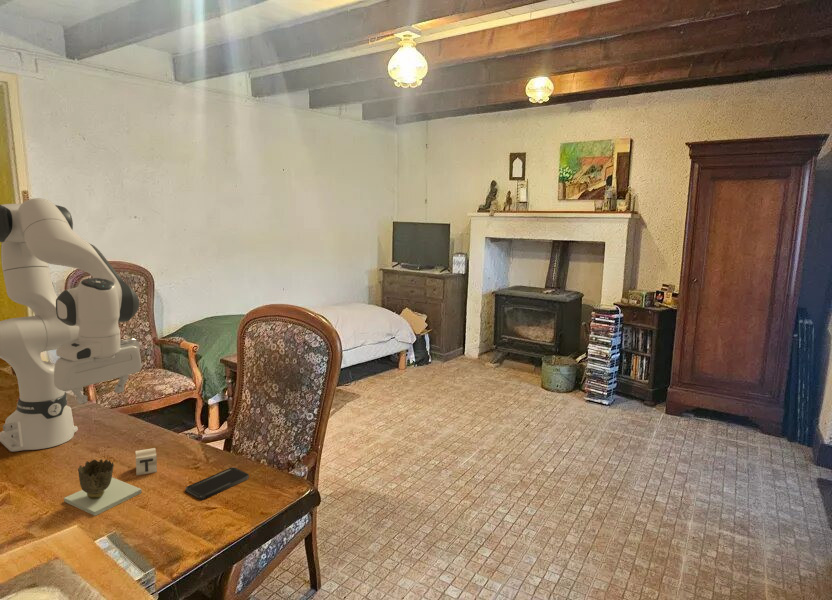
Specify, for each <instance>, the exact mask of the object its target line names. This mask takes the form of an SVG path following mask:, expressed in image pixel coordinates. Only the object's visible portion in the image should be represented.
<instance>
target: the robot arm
mask: <svg viewBox="0 0 832 600" xmlns="http://www.w3.org/2000/svg"><path fill="white" fill-rule="evenodd" d="M73 229H74V221H73V217H72V215H71V212H70V211H69V210H68V209H67V208H66V207H65V206H62V205H57V204H54V203H53V202H52V201H50V200H49V199H45V198H40V197H38V198H36V197H35V198H30V199H28V200H25V201H23V202H22V203H4V204H0V243H1V245H0V247H1V249H0V258H1V260H0V261H1V268H2V273H3V274H2V275H3V280H4V286H5V289H6V295H7V297H8V298H9V299H10V300H11V301H12V302H14V303H17V304H19V305H22V306H26V307H28V308H29V309H30V310H31V311H32V312H33V314H34V315H31V316H22V317H21V316H20V317H14V318H13V317H12V318H8V319H3V320H0V359H1V360H3V361H5V362H6V363H7V364H8V365H9V366H10V367H12V369H13V371H14V372H15V373H14V374H15V375H16V378H17V379H16V380H17V384H18V385H17V386H18V392H19V397H16V402H17V403H16V409H15V411H13V412H12V413H11V414H10V415H9V416H7V417H6V418H5V423H4V424H3V425H2V431H0V443H1V444H2V445H3V446H4V447H5V448H6V449H7V450H8V451H9V452H19V451H21V452H22V451H31V450H32V451H33V450H35V451H36V450H41V449H42V450H43V449H48V448H52V447H56V446H59V445H62V444H65V443H67V442H68V441H70V440H71V439H73V438H74V436H75V433H76V432H77V431H78V430H79V428H78V426H77V425H74V418H73V411H72V408H71V406H69V405H68V396H67V392H69V391H71V392H72V393H73V395H75V396H76V402H77V405H78V404H79V405H83V404H86V403H88V395H85V394H83V393H82V392H83V388H85V387H88V386H91V385H95V384H99V383H103V382H106V381H110V380H114V379H119V380H118V383H117V384H115V385H114V392H115V393H117V394H120V393H123V392H125V385H127V382H128V380H129V375H133V374H136V373H139V372H140V371H141V369H142V366H143V365H142V359H141V358H142V357H141V353H140V342H139V341H138V339H135V338H134V337H131V338H128V339H121V329H120V326H119V323H126V322H127V323H128V322H129V321H131V319H133V317H134V316H135V315H136V314H137V313H138V311H139V308H140V300H139V297H138V294H137V293H136V291H135V290H134V289H133V288H132V287H131V286H130V285H128V284H127V282H125V281H124V279H122V277H121V276H120V275H119V274H118V272H117V271H116V270H115V269H114V267H113V266H112V265H111V263H110V262H109V261H108V259H107V258H106V256H104V255H103V253H102V252H101V251H100V249H98V248H97V247H96V246H95V245H94V244H92V243H89V242H87V241H86V240H85V239H83V238H81V236H79V235H78V234H77V233H76V232H75V231H74V230H73ZM49 264H50V265H53V266H61V267H62V266H63V267H68V268H74V269H77V270H81V271H83V272H85V273H86V272H87V273H88V274H89V275H91V277H90V278H85V279H83V280H80V281H79V283H78V286H76V287H72V288H69V289H65V290H63V291H61V293H60V294H59V295H57V293H56V291H55V288H54V285H53V281H52V277H51V272H50V266H49ZM55 350H56V351H55ZM51 351H55V353H56V356H57V357H59V358H58V359H57V360H56V361H55V363H53V362H50V361H46V360H43V359H42V356H41V353H45V352H51Z"/></svg>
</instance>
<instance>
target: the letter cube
mask: <svg viewBox="0 0 832 600" xmlns="http://www.w3.org/2000/svg"><path fill="white" fill-rule="evenodd" d="M157 458H158V457H157V450H156V447H152V448H147V449H140V450H135V471H136V474H135V475H136V476H141V475H147V474H153V473H157V472H158V461H157Z"/></svg>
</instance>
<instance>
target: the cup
mask: <svg viewBox="0 0 832 600" xmlns="http://www.w3.org/2000/svg"><path fill="white" fill-rule="evenodd" d="M114 467H115V464H114V462H111V460H108V459H105V460H104V461H103V459H102V458H101V459H100V460H97V459H91V461H85V463H84V466H82V465H79V467H78V468H77V471H78V479H79V485H80V488H81V490H83V491H84V492H86V493H87V496H88V498H91V499H96V498H100V497H101V496H103V494H104V490H105V489H107V488H108V486H109V485H110V482H111V479H112V477H113V472H114Z"/></svg>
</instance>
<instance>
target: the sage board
mask: <svg viewBox="0 0 832 600" xmlns="http://www.w3.org/2000/svg"><path fill="white" fill-rule="evenodd" d="M140 494H142V488H140V487H138V486H134V485H133V484H129V483H127V482H125V481H122V480H120V479H117V478H116V477H113V476H112V479H111V482H110V485H109V486H108V488H107V489H105V490H104V494H103V496H101V497H100V498H96V499H91V498H88V496H87V493H86V492H84V491H83V490H82V489H81V490H78V491H76V492H73V493H72V494H70V495H68V496H65V497H63V500H64V503H67V504H68V505H71V506H73V507H74V508H77V509H79V510H80V511H81V510H82V511H83V512H86V513H88V514H90V515H92V516H94V517H96V516H98V515H100V514H102V513H104V512H106V511H108V510H109V509H112V508H114V507H116V506H118V505H120V504H122V503H123V502H125V501H128V500H130V499H131V498H135V497H136V496H139V495H140Z"/></svg>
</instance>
